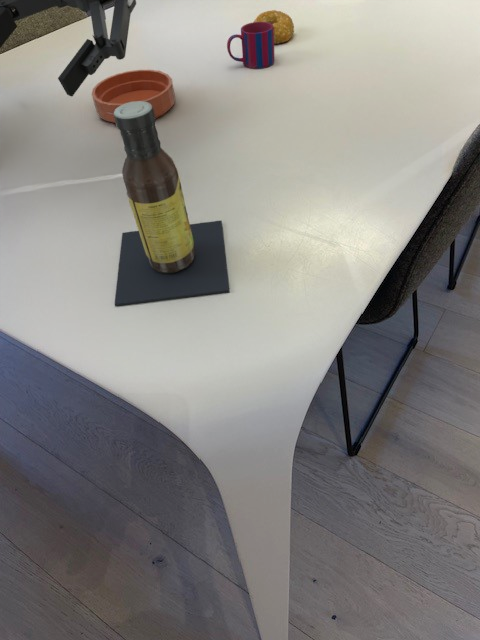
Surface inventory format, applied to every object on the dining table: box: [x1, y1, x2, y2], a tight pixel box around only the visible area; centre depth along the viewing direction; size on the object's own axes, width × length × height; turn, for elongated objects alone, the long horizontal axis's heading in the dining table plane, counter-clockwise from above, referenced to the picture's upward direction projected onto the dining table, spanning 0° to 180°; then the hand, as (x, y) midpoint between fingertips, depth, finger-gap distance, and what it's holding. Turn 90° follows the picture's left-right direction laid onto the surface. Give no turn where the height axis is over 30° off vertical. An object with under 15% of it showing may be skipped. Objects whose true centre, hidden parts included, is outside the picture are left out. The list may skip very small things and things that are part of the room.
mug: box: [226, 21, 275, 70], centre depth 103 cm, size 7×10×7 cm
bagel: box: [253, 9, 295, 45], centre depth 112 cm, size 10×11×5 cm
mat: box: [114, 220, 230, 307], centre depth 64 cm, size 14×14×1 cm
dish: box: [91, 69, 176, 124], centre depth 94 cm, size 15×15×4 cm
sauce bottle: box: [114, 101, 195, 273], centre depth 57 cm, size 6×6×20 cm
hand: (21, 70), depth 62 cm, fingers open, 13 cm apart
